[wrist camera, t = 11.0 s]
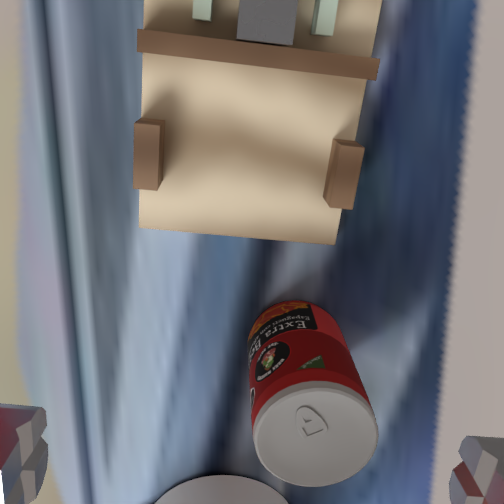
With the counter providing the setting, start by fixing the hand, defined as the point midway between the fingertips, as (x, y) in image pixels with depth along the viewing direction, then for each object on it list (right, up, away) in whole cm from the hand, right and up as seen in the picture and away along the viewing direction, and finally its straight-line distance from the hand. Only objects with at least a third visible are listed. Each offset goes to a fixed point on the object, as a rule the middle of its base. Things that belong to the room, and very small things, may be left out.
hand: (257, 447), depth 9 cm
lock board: (0, +16, +21) cm, 27 cm away
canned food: (+3, -3, +30) cm, 30 cm away
